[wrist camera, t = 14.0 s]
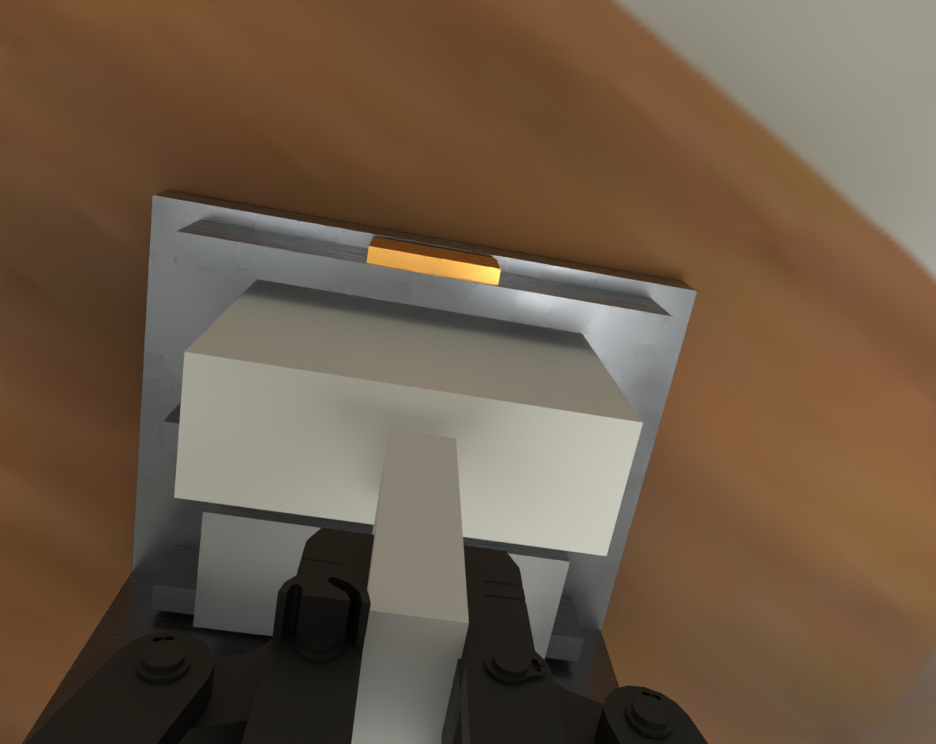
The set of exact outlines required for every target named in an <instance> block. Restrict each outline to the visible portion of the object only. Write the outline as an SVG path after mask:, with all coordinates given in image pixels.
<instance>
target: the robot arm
mask: <svg viewBox="0 0 936 744" xmlns="http://www.w3.org/2000/svg"><path fill="white" fill-rule="evenodd" d="M525 600H526V599H525V594H524V589H523V583H522V578H521V573H520V568H519V567H518V565H517V564H516V563H515V562H514V560H513V559H512V558H511V557H510V555H509V554H508V553H507V552H506V551H501V550H494V549H487V548H479V547H472V546H465V545H463V532H462V518H461V503H460V489H459V475H458V460H457V446H456V438H450V437H443V436H437V435H430V434H424V433H417V432H411V431H404V430H397V429H391V428H390V429H389V436H388V442H387V448H386V454H385V460H384V466H383V472H382V478H381V484H380V490H379V496H378V502H377V508H376V514H375V520H374V526H373V533H372V535H371V534H364V533H357V532H350V531H342V530H335V529H328V528H321V529H319V530H318V531H317V532H316V533H315V534H314V535H312V536H311V537H310V538H309V539H308V540H307V541H306V543H305V547H304V550H303V553H302V557H301V561H300V564H299V567H298V571H297V575H296V576H294V577H292V578H291V579H289V580H287V581H285V582H284V584H283V585H282V587H281V588H280V590H279V591H278V596H277V604H276V612H275V620H274V628H273V636H272V640H271V641H270V642H268V643H266V644H265V645H263V646H262V647H260V648H258V649H255V650H252V651H250V652H247V653H242V654H237V655H231V656H222V657H213V651H212V650H211V649H210V648H209V647H208V646H207V644H206V643H205V642H204V641H202V640H200V639H198V638H196V637H194V636H192V635H190V634H185V633H178V632H161V633H151V634H148V635H145V636H143V637H140V638H137V639H134V640H132V641H131V642H129V643H128V644H127V645H125V646H124V647H122V648H121V649H119V650H118V651H117V652H116V653H115V654H114V655H113V656H112V657H111V658H110V659H109V660H108V661H107V662H106V663H105V664H104V665H103V666H102V667H101V668H100V669H99V670H98V671H97V672H96V673H95V674H94V675H93V676H92V677H91V678H90V679H89V680H88V681H87V682H86V683H85V684H84V685H83V686H82V687H81V688H80V689H79V690H78V691H77V692H76V693H75V694H74V695H73V696H72V697H71V698H70V699H69V700H68V701H67V702H66V703H65V704H64V705H63V706H62V707H61V708H60V709H59V710H58V711H57V712H56V713H55V714H54V715H53V716H52V717H51V719H50V720H49V721H48V722H47V723H46V724H45V725H44V726H43V727H42V728H41V729H40V730H39V731H38V732H37V733H36V734H35V735H34V736H33V737H32V738H31V739H30V740H29V741H28V742H27V743H26V744H708V743H707V741H706V740H705V739H704V737H703V736H702V734H701V733H700V731H699V730H698V729H697V727H696V726H695V724H694V723H693V721H692V720H691V719H690V717H689V716H688V715H687V714H686V713H685V711H684V710H683V709H682V708H681V707H680V706H679V705H678V704H677V703H676V702H674V701H673V700H671V699H669V698H668V697H666V696H665V695H663V694H662V693H659V692H656V691H654V690H651V689H648V688H645V687H638V686H624V687H620V688H616V689H614V690H613V691H611V692H610V693H609V694H608V695H607V696H606V698H605V701H604V704H602V703H600V702H597V701H594V700H592V699H589V698H586V697H583V696H581V695H578V694H576V693H574V692H571V691H569V690H567V689H565V688H564V687H562V686H561V685H559V684H558V683H556V682H555V681H554V679H553V674H552V672H551V670H550V668H549V666H548V663H547V662H546V661H545V660H544V659H543V658H542V657H541V656H540V655H539V654H538V653H537V652H536V651H535V647H534V642H533V637H532V631H531V626H530V621H529V615H528V610H527V605H526V603H525Z"/></svg>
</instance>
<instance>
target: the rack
mask: <svg viewBox="0 0 936 744" xmlns="http://www.w3.org/2000/svg"><path fill="white" fill-rule="evenodd" d="M257 279H260V280H266V281H272V282H278V283H284V284H290V285H296V286H302V287H308V288H314V289H319V290H325V291H331V292H337V293H343V294H349V295H355V296H361V297H367V298H373V299H379V300H385V301H391V302H397V303H403V304H409V305H415V306H421V307H427V308H433V309H439V310H445V311H451V312H457V313H463V314H469V315H475V316H481V317H487V318H493V319H499V320H505V321H511V322H517V323H522V324H528V325H534V326H540V327H546V328H552V329H558V330H564V331H570V332H576V333H582V334H583V335H584V337H585V338H586V339H587V341H588V342H589V344H590V345H591V347H592V348H593V350H594V351H595V353H596V354H597V356H598V357H599V359H600V360H601V362H602V363H603V365H604V366H605V367H606V369H607V370H608V372H609V373H610V375H611V376H612V378H613V379H614V381H615V382H616V384H617V385H618V387H619V388H620V390H621V391H622V392H623V394H624V395H625V397H626V398H627V400H628V401H629V403H630V404H631V406H632V407H633V409H634V410H635V412H636V413H637V415H638V416H639V417H640V419H641V420H642V422H643V424H642V428H641V432H640V435H639V439H638V443H637V446H636V450H635V454H634V457H633V461H632V465H631V468H630V472H629V476H628V479H627V483H626V487H625V490H624V494H623V498H622V501H621V505H620V509H619V512H618V516H617V520H616V523H615V527H614V531H613V534H612V538H611V541H610V545H609V549H608V552H607V556H601V555H594V554H587V553H579V552H572V551H565V550H557V549H550V548H542V547H535V546H528V545H520V544H513V543H506V542H498V541H491V540H483V539H476V538H469V537H463V545H465V546H472V547H479V548H487V549H494V550H501V551H506V552H507V553H508V554H509V555H510V557H511V558H512V559H513V560H514V562H515V563H516V564H517V565H518V567H519V568H520V573H521V578H522V583H523V589H524V594H525V599H526V600H525V603H526V605H527V610H528V615H529V621H530V626H531V631H532V637H533V642H534V647H535V651H536V652H537V653H538V654H539V655H540V656H541V657H542V658H543V659H544V660H545V661H546V662H547V663H548V666H549V668H550V670H551V672H552V674H553V679H554V681H555V682H556V683H558V684H559V685H561V686H562V687H564V688H565V689H567V690H569V691H571V692H574V693H576V694H578V695H581V696H583V697H586V698H589V699H592V700H594V701H597V702H600V703H602V704H604V701H605V698H606V696H607V695H608V694H609V693H610V692H611V691H613V690H614V689H616V688H619V685H618V682H617V679H616V676H615V673H614V670H613V667H612V664H611V661H610V658H609V655H608V652H607V649H606V646H605V643H604V640H603V637H602V634H601V629H602V626H603V622H604V619H605V615H606V611H607V608H608V604H609V601H610V597H611V594H612V590H613V587H614V583H615V580H616V576H617V573H618V569H619V566H620V562H621V558H622V555H623V551H624V548H625V544H626V541H627V537H628V534H629V530H630V527H631V523H632V520H633V516H634V512H635V509H636V505H637V502H638V498H639V495H640V491H641V488H642V484H643V481H644V477H645V474H646V470H647V466H648V463H649V459H650V456H651V452H652V449H653V445H654V442H655V438H656V435H657V431H658V428H659V424H660V420H661V417H662V413H663V410H664V406H665V403H666V399H667V396H668V392H669V389H670V385H671V382H672V378H673V375H674V371H675V367H676V364H677V360H678V357H679V353H680V350H681V346H682V343H683V339H684V336H685V332H686V329H687V325H688V321H689V318H690V314H691V311H692V307H693V304H694V300H695V297H696V293H697V291H696V290H695V289H693V288H692V287H691V286H689V285H688V284H686V283H685V282H683V281H677V280H671V279H666V278H660V277H655V276H649V275H643V274H638V273H632V272H626V271H621V270H615V269H609V268H604V267H598V266H592V265H587V264H581V263H575V262H570V261H564V260H559V259H553V258H547V257H542V256H536V255H530V254H525V253H519V252H513V251H508V250H502V249H496V248H491V247H485V246H480V245H474V244H468V243H463V242H457V241H451V240H446V239H440V238H434V237H429V236H423V235H417V234H412V233H406V232H400V231H395V230H389V229H384V228H378V227H372V226H367V225H361V224H355V223H350V222H344V221H338V220H333V219H327V218H321V217H316V216H310V215H304V214H299V213H293V212H288V211H282V210H276V209H271V208H265V207H259V206H254V205H248V204H242V203H237V202H231V201H225V200H220V199H214V198H208V197H203V196H197V195H192V194H186V193H180V192H175V191H169V190H167V191H164V192H161V193H158V194H155V195H153V201H152V219H151V237H150V255H149V273H148V291H147V309H146V327H145V345H144V363H143V382H142V400H141V418H140V436H139V454H138V472H137V490H136V508H135V526H134V544H133V562H132V573H131V574H130V576H129V577H128V579H127V581H126V582H125V584H124V585H123V587H122V588H121V590H120V592H119V593H118V595H117V596H116V598H115V599H114V601H113V602H112V604H111V606H110V607H109V609H108V610H107V612H106V613H105V615H104V617H103V618H102V620H101V621H100V623H99V624H98V626H97V628H96V629H95V631H94V632H93V634H92V635H91V637H90V638H89V640H88V642H87V643H86V645H85V646H84V648H83V649H82V651H81V653H80V654H79V656H78V657H77V659H76V660H75V662H74V663H73V665H72V667H71V668H70V670H69V671H68V673H67V674H66V676H65V678H64V679H63V681H62V682H61V684H60V685H59V687H58V689H57V690H56V692H55V693H54V695H53V696H52V698H51V699H50V701H49V703H48V704H47V706H46V707H45V709H44V710H43V712H42V714H41V715H40V717H39V718H38V720H37V721H36V723H35V724H34V726H33V728H32V729H31V731H30V732H29V734H28V735H27V737H26V739H25V740H24V742H23V743H22V744H26V743H27V742H28V741H29V740H30V739H31V738H32V737H33V736H34V735H35V734H36V733H37V732H38V731H39V730H40V729H41V728H42V727H43V726H44V725H45V724H46V723H47V722H48V721H49V720H50V719H51V717H52V716H53V715H54V714H55V713H56V712H57V711H58V710H59V709H60V708H61V707H62V706H63V705H64V704H65V703H66V702H67V701H68V700H69V699H70V698H71V697H72V696H73V695H74V694H75V693H76V692H77V691H78V690H79V689H80V688H81V687H82V686H83V685H84V684H85V683H86V682H87V681H88V680H89V679H90V678H91V677H92V676H93V675H94V674H95V673H96V672H97V671H98V670H99V669H100V668H101V667H102V666H103V665H104V664H105V663H106V662H107V661H108V660H109V659H110V658H111V657H112V656H113V655H114V654H115V653H116V652H117V651H118V650H119V649H121V648H122V647H124V646H125V645H127V644H128V643H129V642H131V641H132V640H134V639H137V638H140V637H143V636H145V635H148V634H151V633H161V632H178V633H185V634H190V635H192V636H194V637H196V638H198V639H200V640H202V641H204V642H205V643H206V644H207V646H208V647H209V648H210V649H211V650H212V651H213V657H222V656H231V655H237V654H242V653H247V652H250V651H252V650H255V649H258V648H260V647H262V646H263V645H265V644H266V643H268V642H270V641H271V640H272V636H273V628H274V620H275V612H276V604H277V596H278V591H279V590H280V588H281V587H282V585H283V584H284V582H285V581H287V580H289V579H291V578H292V577H294V576H296V575H297V571H298V567H299V564H300V561H301V557H302V553H303V550H304V547H305V543H306V541H307V540H308V539H309V538H310V537H311V536H312V535H314V534H315V533H316V532H317V531H318V530H319V529H321V528H328V529H335V530H342V531H350V532H357V533H364V534H371V535H372V533H373V526H374V525H373V524H365V523H358V522H351V521H343V520H336V519H329V518H321V517H314V516H306V515H299V514H292V513H284V512H277V511H270V510H262V509H255V508H247V507H240V506H233V505H225V504H218V503H211V502H203V501H196V500H188V499H181V498H174V493H175V479H176V465H177V450H178V436H179V422H180V408H181V394H182V379H183V365H184V352H185V351H186V350H187V349H188V348H189V347H190V346H191V345H192V344H193V343H194V342H195V341H196V340H197V339H198V338H199V337H200V336H201V335H202V334H203V333H204V332H205V331H206V330H207V329H208V328H209V327H210V326H211V325H212V324H213V323H214V322H215V321H216V320H217V319H218V318H219V317H220V316H221V315H222V314H223V313H224V312H225V311H226V310H227V309H228V308H229V307H230V306H231V305H232V304H233V303H234V302H235V301H236V300H237V299H238V298H239V297H240V296H241V295H242V294H243V293H244V292H245V291H246V290H247V289H248V288H249V287H250V286H251V285H252V284H253V283H254V282H255V281H256V280H257Z"/></svg>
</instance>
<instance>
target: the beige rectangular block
mask: <svg viewBox="0 0 936 744" xmlns="http://www.w3.org/2000/svg"><path fill="white" fill-rule="evenodd" d="M642 424H643V422H642V420H641V419H640V417H639V416H638V415H637V413H636V412H635V410H634V409H633V407H632V406H631V404H630V403H629V401H628V400H627V398H626V397H625V395H624V394H623V392H622V391H621V390H620V388H619V387H618V385H617V384H616V382H615V381H614V379H613V378H612V376H611V375H610V373H609V372H608V370H607V369H606V367H605V366H604V365H603V363H602V362H601V360H600V359H599V357H598V356H597V354H596V353H595V351H594V350H593V348H592V347H591V345H590V344H589V342H588V341H587V339H586V338H585V337H584V335H583V334H582V333H576V332H570V331H564V330H558V329H552V328H546V327H540V326H534V325H528V324H522V323H517V322H511V321H505V320H499V319H493V318H487V317H481V316H475V315H469V314H463V313H457V312H451V311H445V310H439V309H433V308H427V307H421V306H415V305H409V304H403V303H397V302H391V301H385V300H379V299H373V298H367V297H361V296H355V295H349V294H343V293H337V292H331V291H325V290H319V289H314V288H308V287H302V286H296V285H290V284H284V283H278V282H272V281H266V280H260V279H257V280H256V281H255V282H254V283H253V284H252V285H251V286H250V287H249V288H248V289H247V290H246V291H245V292H244V293H243V294H242V295H241V296H240V297H239V298H238V299H237V300H236V301H235V302H234V303H233V304H232V305H231V306H230V307H229V308H228V309H227V310H226V311H225V312H224V313H223V314H222V315H221V316H220V317H219V318H218V319H217V320H216V321H215V322H214V323H213V324H212V325H211V326H210V327H209V328H208V329H207V330H206V331H205V332H204V333H203V334H202V335H201V336H200V337H199V338H198V339H197V340H196V341H195V342H194V343H193V344H192V345H191V346H190V347H189V348H188V349H187V350H186V351H185V352H184V365H183V379H182V394H181V408H180V422H179V436H178V450H177V465H176V479H175V493H174V498H181V499H188V500H196V501H203V502H211V503H218V504H225V505H233V506H240V507H247V508H255V509H262V510H270V511H277V512H284V513H292V514H299V515H306V516H314V517H321V518H329V519H336V520H343V521H351V522H358V523H365V524H373V525H374V520H375V514H376V508H377V502H378V496H379V490H380V484H381V478H382V472H383V466H384V460H385V454H386V448H387V442H388V436H389V429H390V428H391V429H397V430H404V431H411V432H417V433H424V434H430V435H437V436H443V437H450V438H456V446H457V460H458V475H459V489H460V503H461V518H462V532H463V537H469V538H476V539H483V540H491V541H498V542H506V543H513V544H520V545H528V546H535V547H542V548H550V549H557V550H565V551H572V552H579V553H587V554H594V555H601V556H607V552H608V549H609V545H610V541H611V538H612V534H613V531H614V527H615V523H616V520H617V516H618V512H619V509H620V505H621V501H622V498H623V494H624V490H625V487H626V483H627V479H628V476H629V472H630V468H631V465H632V461H633V457H634V454H635V450H636V446H637V443H638V439H639V435H640V432H641V428H642Z"/></svg>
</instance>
